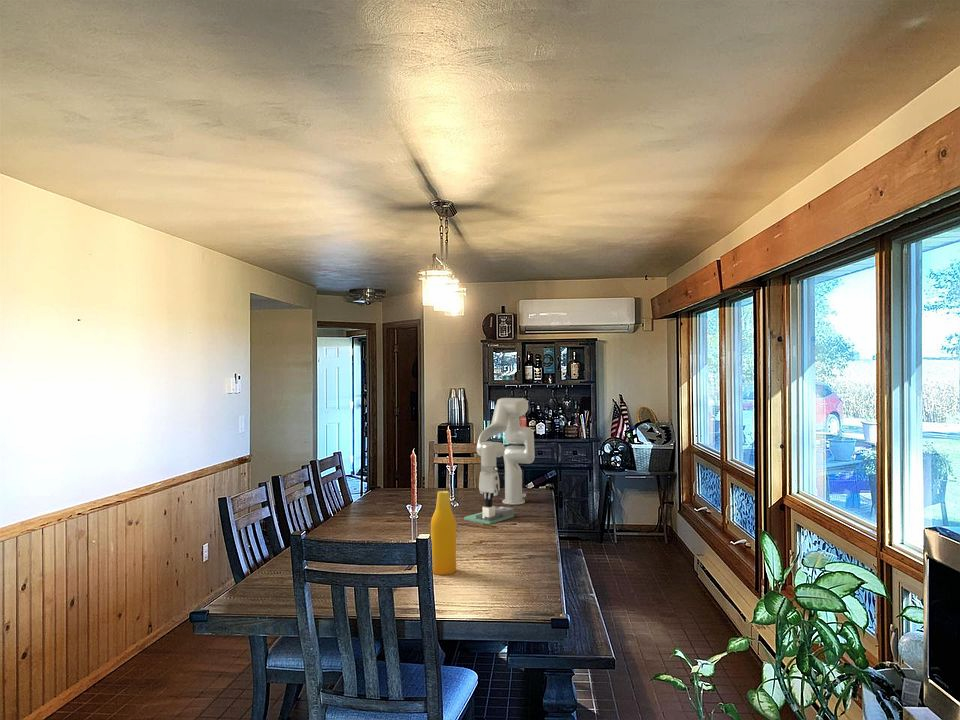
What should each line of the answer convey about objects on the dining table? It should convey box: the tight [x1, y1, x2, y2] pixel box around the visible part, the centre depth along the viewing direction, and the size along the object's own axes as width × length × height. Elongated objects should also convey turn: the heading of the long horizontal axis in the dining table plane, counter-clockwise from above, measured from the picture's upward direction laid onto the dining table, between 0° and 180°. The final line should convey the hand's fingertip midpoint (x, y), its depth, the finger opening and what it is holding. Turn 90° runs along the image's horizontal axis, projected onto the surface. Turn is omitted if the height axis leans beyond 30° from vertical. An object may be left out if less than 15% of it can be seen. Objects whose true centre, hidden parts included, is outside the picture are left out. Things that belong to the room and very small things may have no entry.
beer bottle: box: [430, 490, 457, 576], centre depth 234 cm, size 9×9×29 cm
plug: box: [482, 505, 496, 517], centre depth 314 cm, size 5×4×5 cm
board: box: [463, 511, 515, 525], centre depth 319 cm, size 20×16×1 cm
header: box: [476, 513, 502, 521], centre depth 314 cm, size 10×9×2 cm
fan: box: [495, 506, 515, 517], centre depth 321 cm, size 8×8×4 cm
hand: (488, 506), depth 314 cm, fingers closed
